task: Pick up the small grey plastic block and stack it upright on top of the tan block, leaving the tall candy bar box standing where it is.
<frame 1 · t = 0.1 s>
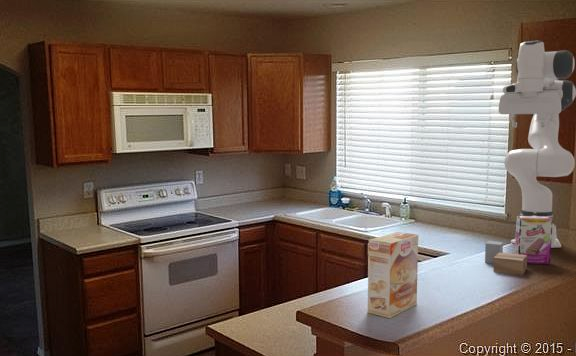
hand: (528, 127, 198), 48 cm above the counter, tool pointing down, fingers open, 8 cm apart
candy bar box: (532, 263, 200), on the counter
grey plastic block: (493, 262, 201), on the counter
coffeecake box: (392, 309, 150), on the counter
tan block: (510, 270, 190), on the counter
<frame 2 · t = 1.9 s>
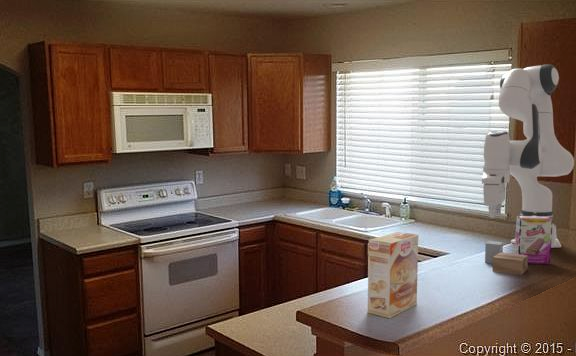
hand: (495, 216, 199), 17 cm above the counter, tool pointing down, fingers open, 8 cm apart
nothing on the counter moved.
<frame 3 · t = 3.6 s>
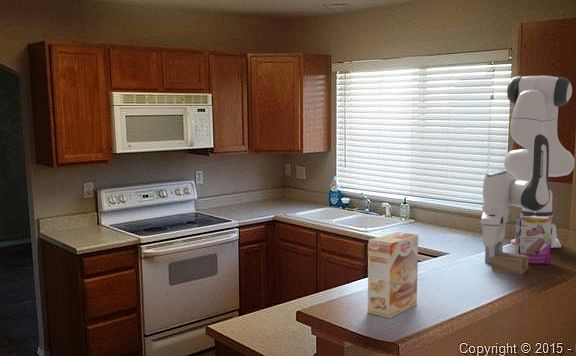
hand: (494, 254, 201), 3 cm above the counter, tool pointing down, fingers closed on grey plastic block, 5 cm apart
grey plastic block: (493, 262, 201), on the counter, touching gripper
everything else where it was.
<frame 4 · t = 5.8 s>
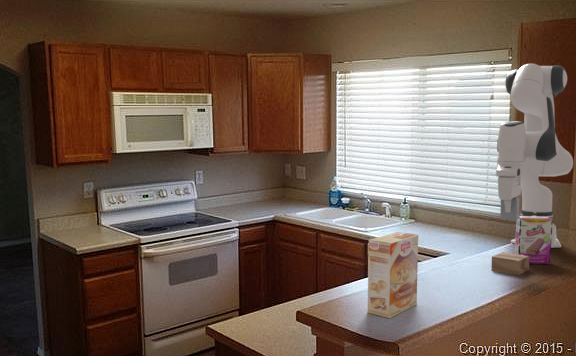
hand: (509, 211, 188), 20 cm above the counter, tool pointing down, fingers closed on grey plastic block, 5 cm apart
grey plastic block: (509, 218, 189), point 17 cm above the counter, touching gripper
everything else where it was.
when the fingers open (9 cm above the counter, at t = 8.3 s): grey plastic block drops 1 cm, resting on tan block.
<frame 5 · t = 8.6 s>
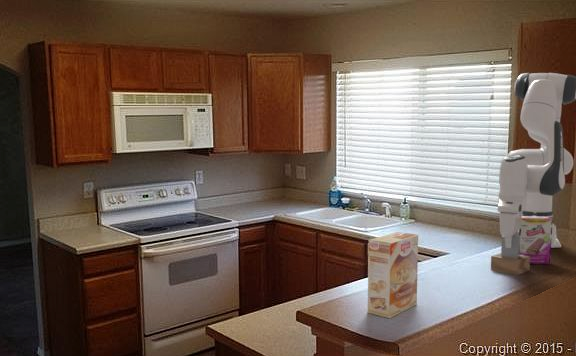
hand: (511, 245, 189), 9 cm above the counter, tool pointing down, fingers open, 8 cm apart
grey plastic block: (510, 256, 189), point 5 cm above the counter, touching tan block
tan block: (510, 271, 190), on the counter, touching grey plastic block
everything else where it was.
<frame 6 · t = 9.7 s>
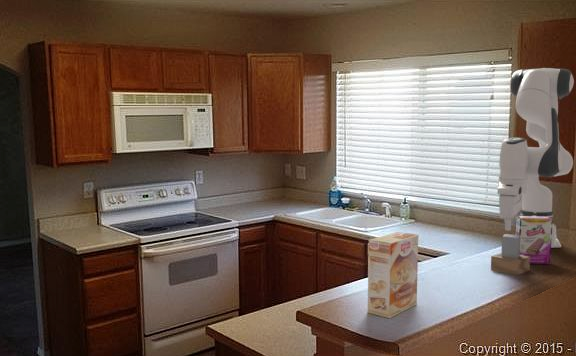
hand: (510, 227, 189), 14 cm above the counter, tool pointing down, fingers open, 8 cm apart
grey plastic block: (510, 256, 189), point 5 cm above the counter
tan block: (510, 271, 190), on the counter
everything else where it was.
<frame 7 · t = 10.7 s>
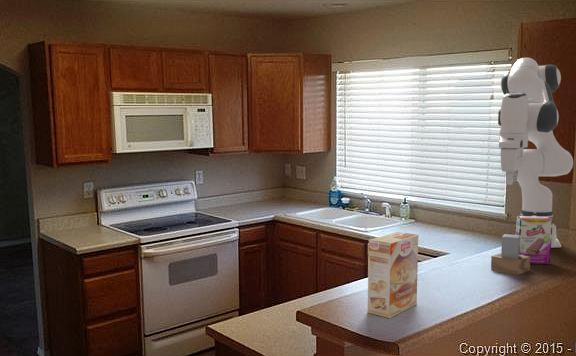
hand: (511, 183, 189), 29 cm above the counter, tool pointing down, fingers open, 8 cm apart
grey plastic block: (510, 256, 189), point 5 cm above the counter, touching tan block
tan block: (510, 271, 190), on the counter, touching grey plastic block
everything else where it was.
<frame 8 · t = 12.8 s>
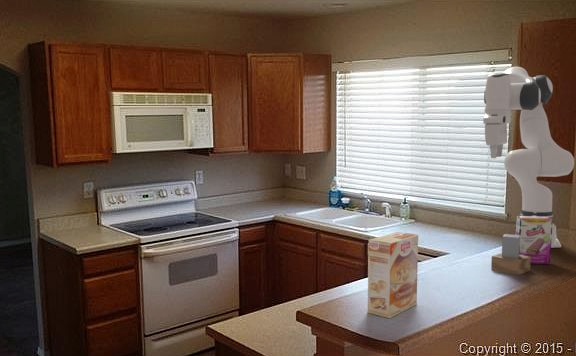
hand: (496, 157, 201), 37 cm above the counter, tool pointing down, fingers open, 8 cm apart
grey plastic block: (510, 256, 189), point 5 cm above the counter
tan block: (510, 271, 190), on the counter
everything else where it was.
at the end: grey plastic block inside the target area on the tan block (0.2 cm from its centre), point 5.0 cm above the tan block's base; grey plastic block tilted 0°; the gripper is holding nothing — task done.
